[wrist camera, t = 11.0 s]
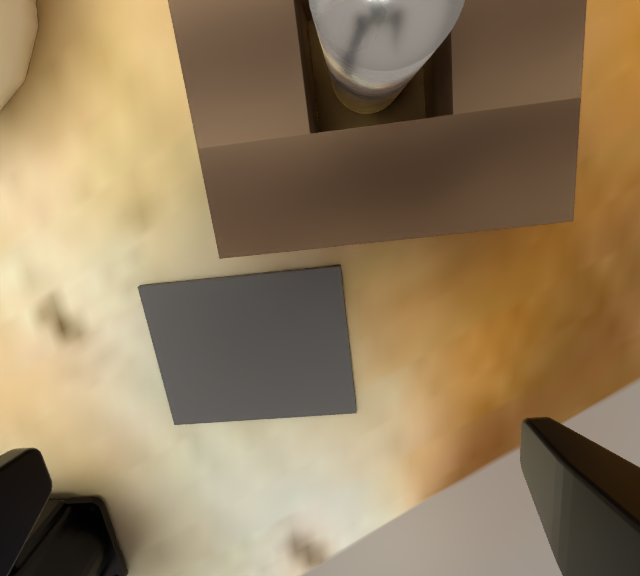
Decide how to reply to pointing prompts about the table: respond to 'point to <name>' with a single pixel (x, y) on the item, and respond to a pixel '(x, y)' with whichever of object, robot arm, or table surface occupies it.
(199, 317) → the rubber mat
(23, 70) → the vase
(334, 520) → the table surface
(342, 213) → the hole block
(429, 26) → the pin
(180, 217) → the table surface
